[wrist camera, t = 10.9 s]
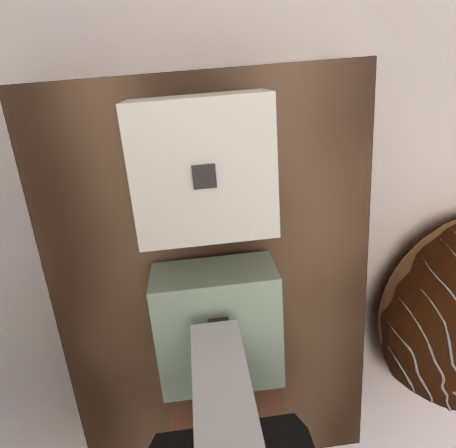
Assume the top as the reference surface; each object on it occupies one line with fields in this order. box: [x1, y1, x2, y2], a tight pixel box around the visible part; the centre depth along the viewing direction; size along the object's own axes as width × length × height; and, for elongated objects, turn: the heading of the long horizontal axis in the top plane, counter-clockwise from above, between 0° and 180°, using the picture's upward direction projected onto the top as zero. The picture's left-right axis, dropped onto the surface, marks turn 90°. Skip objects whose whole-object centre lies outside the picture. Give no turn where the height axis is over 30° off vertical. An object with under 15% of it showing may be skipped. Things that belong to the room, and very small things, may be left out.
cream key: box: [116, 88, 281, 252], centre depth 14 cm, size 4×4×3 cm
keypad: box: [0, 56, 377, 448], centre depth 18 cm, size 13×18×4 cm
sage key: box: [146, 251, 286, 403], centre depth 16 cm, size 4×4×3 cm
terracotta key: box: [169, 388, 285, 432], centre depth 18 cm, size 4×4×3 cm
